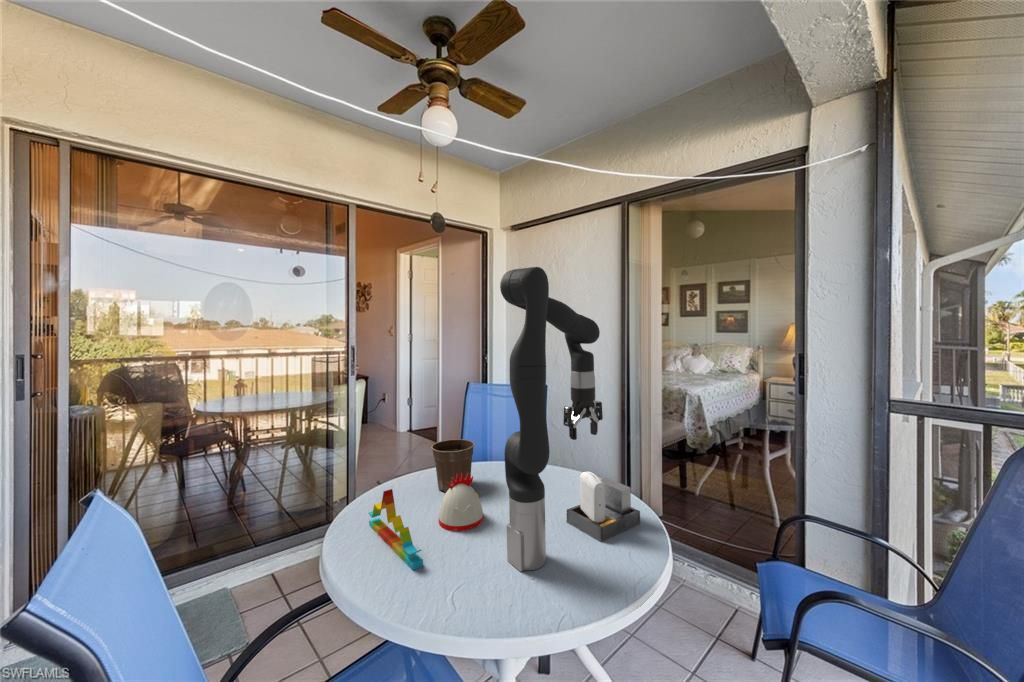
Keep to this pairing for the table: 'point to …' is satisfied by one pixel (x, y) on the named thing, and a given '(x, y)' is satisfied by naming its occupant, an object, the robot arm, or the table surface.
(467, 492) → the kitchen timer
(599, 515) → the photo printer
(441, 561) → the table surface
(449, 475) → the plant pot
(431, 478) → the table surface
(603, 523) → the rack
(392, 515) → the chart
